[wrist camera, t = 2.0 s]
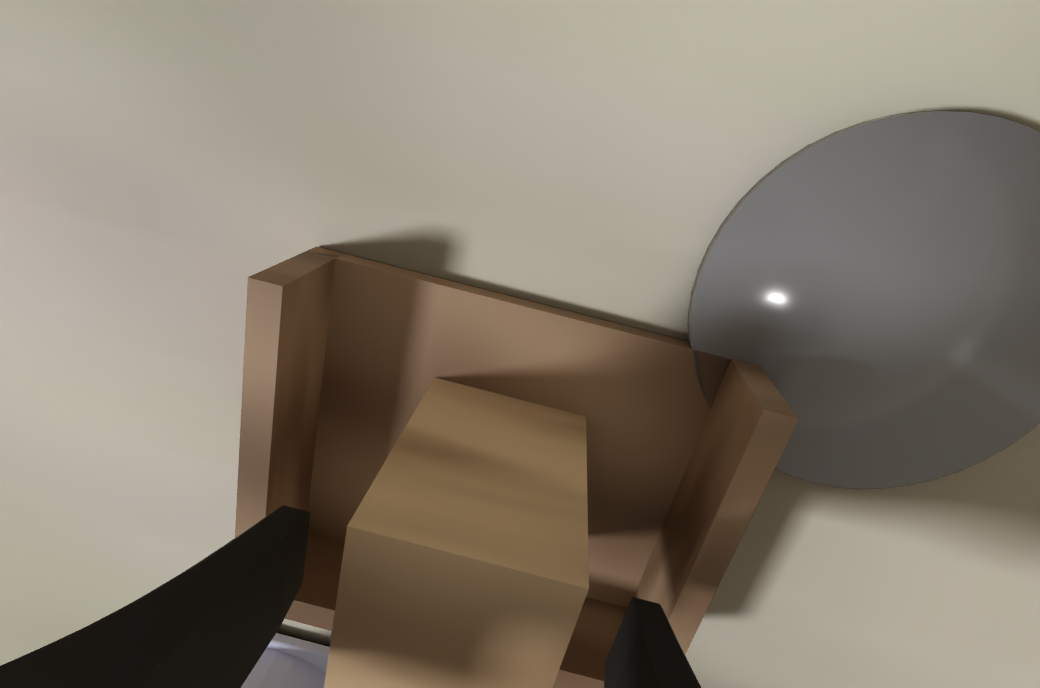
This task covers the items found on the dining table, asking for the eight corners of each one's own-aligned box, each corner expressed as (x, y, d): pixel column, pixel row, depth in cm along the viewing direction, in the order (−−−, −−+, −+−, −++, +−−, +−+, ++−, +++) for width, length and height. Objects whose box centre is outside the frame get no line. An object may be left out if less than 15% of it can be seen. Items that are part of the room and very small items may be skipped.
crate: (643, 617, 19) (655, 715, 16) (290, 524, 19) (231, 604, 16) (753, 358, 16) (799, 418, 12) (316, 246, 16) (247, 277, 13)
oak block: (547, 537, 18) (530, 747, 12) (410, 501, 18) (323, 692, 12) (586, 416, 16) (588, 588, 10) (434, 377, 16) (347, 525, 10)
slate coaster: (968, 512, 17) (981, 526, 16) (640, 428, 17) (642, 438, 16) (1194, 170, 13) (1221, 172, 12) (772, 65, 13) (780, 62, 12)
